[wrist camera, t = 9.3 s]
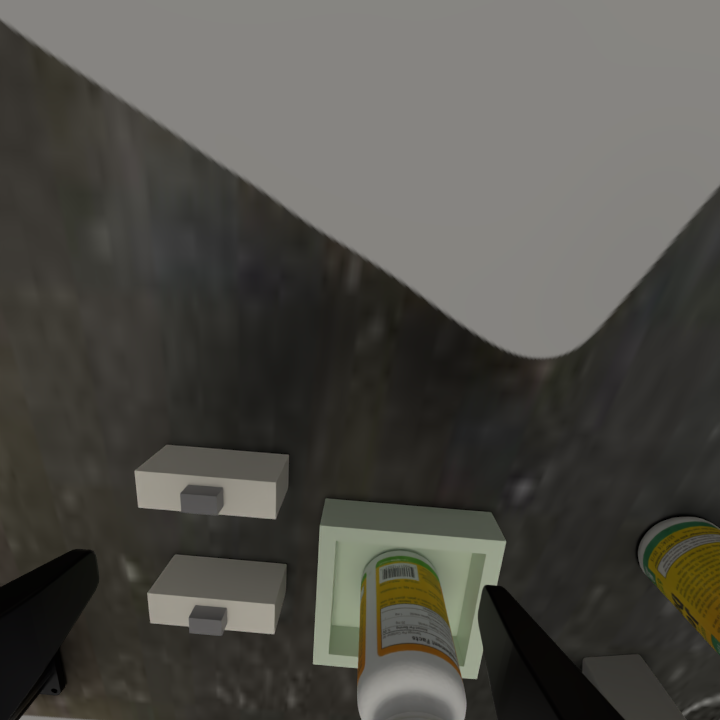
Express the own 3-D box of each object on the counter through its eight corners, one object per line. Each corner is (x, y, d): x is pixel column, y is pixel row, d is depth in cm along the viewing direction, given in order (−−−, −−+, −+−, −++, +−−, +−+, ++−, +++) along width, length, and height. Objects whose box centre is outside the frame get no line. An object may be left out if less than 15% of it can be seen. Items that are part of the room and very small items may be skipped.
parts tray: (466, 639, 25) (476, 679, 22) (318, 626, 25) (312, 664, 22) (491, 512, 22) (506, 541, 19) (325, 498, 22) (319, 525, 20)
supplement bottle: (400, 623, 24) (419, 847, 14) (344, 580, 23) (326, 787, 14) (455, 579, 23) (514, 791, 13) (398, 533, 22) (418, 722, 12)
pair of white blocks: (286, 591, 24) (270, 647, 20) (176, 581, 24) (141, 636, 20) (289, 454, 21) (272, 491, 18) (166, 444, 21) (124, 479, 18)
